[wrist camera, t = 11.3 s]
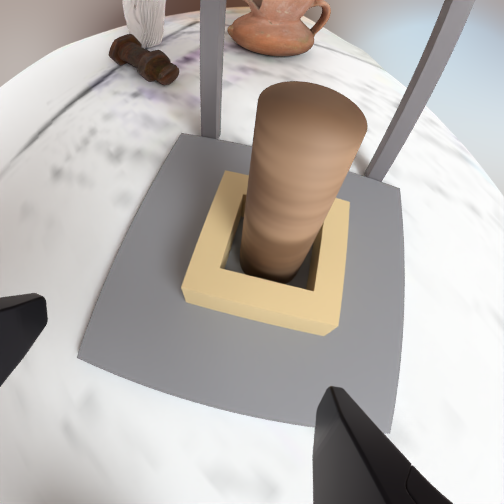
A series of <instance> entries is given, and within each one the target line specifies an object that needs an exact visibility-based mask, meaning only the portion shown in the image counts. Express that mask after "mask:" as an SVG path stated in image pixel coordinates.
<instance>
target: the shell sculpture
mask: <svg viewBox="0 0 504 504" xmlns="http://www.w3.org/2000/svg"><path fill="white" fill-rule="evenodd" d="M157 1H158V2H157ZM165 3H166V0H133V1H132V0H123V8H124V16H125V19H126V22H127V26H128V29H129V33H130V34H132V35H134V36H135V37H136V38H137V39H138V41H139V42H140V43H141V44H142V48H147V47H146V45H147V46H148V48H149V47H153V46H156V45H159V44H160V43H161V41H162V36H163V32H164V28H163V26H164V18H165ZM134 4H135V5H136V9H135V7H134ZM156 6H157V10H156ZM144 36H145V37H144ZM146 40H147V41H146Z"/></svg>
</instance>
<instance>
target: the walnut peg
mask: <svg viewBox="0 0 504 504" xmlns="http://www.w3.org/2000/svg"><path fill="white" fill-rule="evenodd" d="M366 132H367V121H366V118H365V116H364V114H363V113H362V111H361V110H360V109H359V107H358V106H357V105H356V104H355V103H353V102H352V101H351V100H350V99H348V98H347V97H345V96H344V95H342V94H340V93H338V92H336V91H335V90H332V89H330V88H327V87H324V86H321V85H318V84H314V83H308V82H299V81H290V82H282V83H277V84H274V85H272V86H269V87H268V88H266V89H265V90H264V91H263V92H262V93H261V94H260V96H259V99H258V105H257V113H256V121H255V129H254V137H253V145H252V153H251V161H250V170H249V178H248V187H247V195H246V204H245V212H244V221H243V230H242V239H241V248H240V265H241V268H242V270H243V272H244V274H245V275H249V276H253V277H257V278H261V279H265V280H269V281H273V282H277V283H281V284H287V283H289V282H290V281H291V280H292V279H293V278H294V277H295V276H296V274H297V273H298V271H299V269H300V267H301V265H302V263H303V261H304V259H305V257H306V256H307V254H308V252H309V250H310V248H311V246H312V244H313V242H314V240H315V238H316V236H317V234H318V232H319V230H320V228H321V226H322V224H323V222H324V220H325V218H326V216H327V214H328V212H329V210H330V208H331V206H332V204H333V202H334V200H335V198H336V196H337V194H338V192H339V190H340V188H341V186H342V183H343V181H344V179H345V177H346V175H347V173H348V171H349V169H350V167H351V165H352V162H353V160H354V158H355V156H356V154H357V152H358V149H359V147H360V145H361V143H362V141H363V138H364V136H365V134H366Z"/></svg>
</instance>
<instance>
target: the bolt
mask: <svg viewBox="0 0 504 504" xmlns="http://www.w3.org/2000/svg"><path fill="white" fill-rule="evenodd" d="M109 57H110V58H112V59H113V60H114V61H115V62H116V63H117V64H119V65H120V66H121V65H123V64H126V63H129V64H131V65H133V66H134V67H136V68H137V72H138V73H139V74H140V75H141V76H142V77H143V78H145V79H146V80H147V81H149V82H151V81H155V80H156V81H158V82H159V83H161V84H162V85H167V84H170V83H172V82H173V81H174V80H175V79H176V78H177V77H178V75H179V68H178V67H177V66H176V65H174V64H172V63H170V60H169V58H168V57H167V56H166V55H165V54H164V53H163V52H162V51H160V50H155V51H151V52H150V51H148V50H146V49H144V48H142V44H141V43H140V42H139V41H138V39H137V38H136V37H135V36H134V35H132V34H127V35H124V36H121V37H119V38H117V39H115V40H114V42H113V43H112V45H111V48H110V51H109Z"/></svg>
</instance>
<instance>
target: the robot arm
mask: <svg viewBox="0 0 504 504" xmlns="http://www.w3.org/2000/svg"><path fill="white" fill-rule="evenodd" d="M47 321H48V317H47V307H46V300H45V298H44V297H43V296H41V295H39V294H37V293H31V294H23V295H16V296H9V297H1V298H0V387H1V385H2V384H3V383H4V381H5V380H6V379H7V378H8V376H9V375H10V374H11V373H12V371H13V370H14V369H15V368H16V366H17V365H18V364H19V363H20V362H21V360H22V359H23V358H24V356H25V355H26V354H27V352H28V351H29V349H30V348H31V346H32V345H33V343H34V342H35V340H36V339H37V338H38V336H39V335H40V333H41V332H42V330H43V329H44V328H45V326H46V324H47ZM313 504H453V503H452V502H451V501H449V500H448V499H447V498H446V497H445V496H444V495H442V494H441V493H440V492H439V491H438V490H437V489H436V488H435V487H434V486H432V485H431V484H430V483H429V482H428V481H427V480H426V479H425V478H424V476H423V475H422V474H421V473H420V472H419V471H418V470H417V469H416V468H415V467H414V466H413V465H412V466H411V463H410V462H409V461H408V460H407V458H406V457H405V456H404V455H403V454H402V453H401V452H400V451H399V450H398V449H397V447H396V446H395V445H394V444H393V443H392V442H391V441H390V440H389V439H388V438H387V436H386V435H385V434H384V433H383V432H382V431H381V430H380V429H379V428H378V427H377V425H376V424H375V423H374V422H373V421H372V420H371V419H370V418H369V417H368V415H367V414H366V413H365V412H364V411H363V410H362V409H361V408H360V406H359V405H358V404H357V403H356V402H355V401H354V400H353V399H352V397H351V396H350V395H349V394H348V393H347V392H346V391H345V390H344V389H343V388H341V387H335V386H329V387H328V388H327V389H326V391H325V393H324V395H323V397H322V399H321V401H320V403H319V405H318V407H317V411H316V422H315V434H314V445H313Z"/></svg>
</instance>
